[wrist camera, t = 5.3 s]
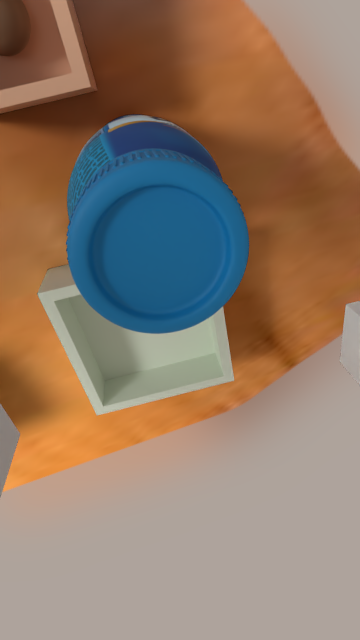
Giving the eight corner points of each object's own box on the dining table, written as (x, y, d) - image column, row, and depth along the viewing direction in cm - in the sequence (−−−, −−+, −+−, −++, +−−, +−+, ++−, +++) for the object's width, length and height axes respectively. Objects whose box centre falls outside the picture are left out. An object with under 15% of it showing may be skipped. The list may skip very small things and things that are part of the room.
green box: (99, 383, 41) (96, 415, 36) (47, 269, 32) (37, 293, 28) (222, 352, 41) (234, 380, 37) (202, 231, 33) (214, 249, 28)
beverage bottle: (65, 143, 27) (-23, 207, 10) (160, 90, 26) (231, 67, 10) (119, 236, 32) (118, 384, 15) (202, 193, 31) (299, 301, 14)
